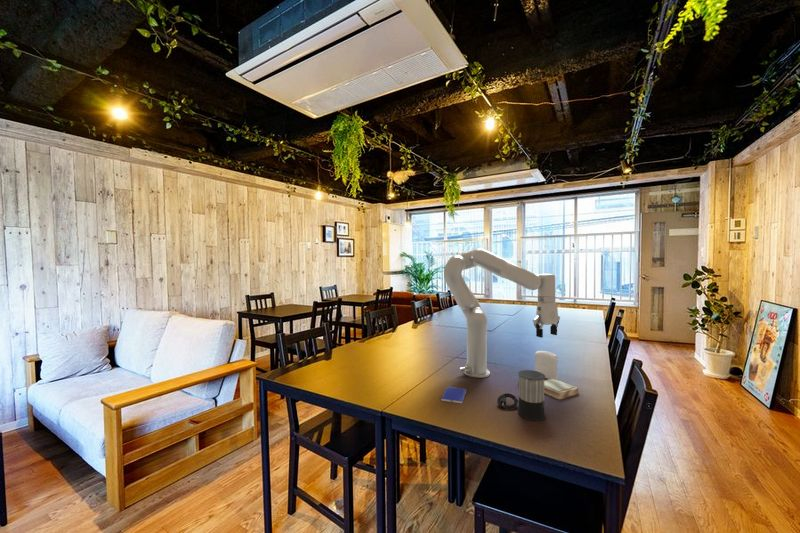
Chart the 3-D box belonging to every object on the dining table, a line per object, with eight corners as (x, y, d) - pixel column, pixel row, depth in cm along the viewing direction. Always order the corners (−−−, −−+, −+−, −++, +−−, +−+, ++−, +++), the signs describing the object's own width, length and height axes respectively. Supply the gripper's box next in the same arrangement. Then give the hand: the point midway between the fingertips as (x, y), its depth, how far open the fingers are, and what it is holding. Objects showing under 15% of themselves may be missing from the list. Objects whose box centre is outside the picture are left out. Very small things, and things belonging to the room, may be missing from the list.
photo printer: (533, 375, 154) (533, 350, 154) (537, 373, 157) (538, 348, 157) (555, 381, 146) (555, 354, 146) (559, 379, 149) (559, 353, 149)
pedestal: (558, 399, 127) (558, 392, 127) (534, 388, 138) (534, 382, 138) (578, 393, 133) (578, 387, 133) (553, 383, 143) (553, 377, 143)
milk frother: (548, 422, 110) (548, 379, 109) (501, 418, 112) (501, 376, 112) (538, 404, 124) (538, 366, 123) (496, 401, 126) (496, 363, 126)
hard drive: (447, 386, 139) (441, 398, 127) (466, 388, 136) (462, 400, 124) (447, 389, 139) (441, 401, 127) (466, 392, 136) (462, 404, 125)
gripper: (540, 301, 144) (540, 339, 144) (565, 299, 151) (566, 335, 151) (527, 300, 150) (527, 336, 151) (552, 297, 158) (552, 332, 158)
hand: (546, 335), depth 151 cm, fingers open, 9 cm apart
